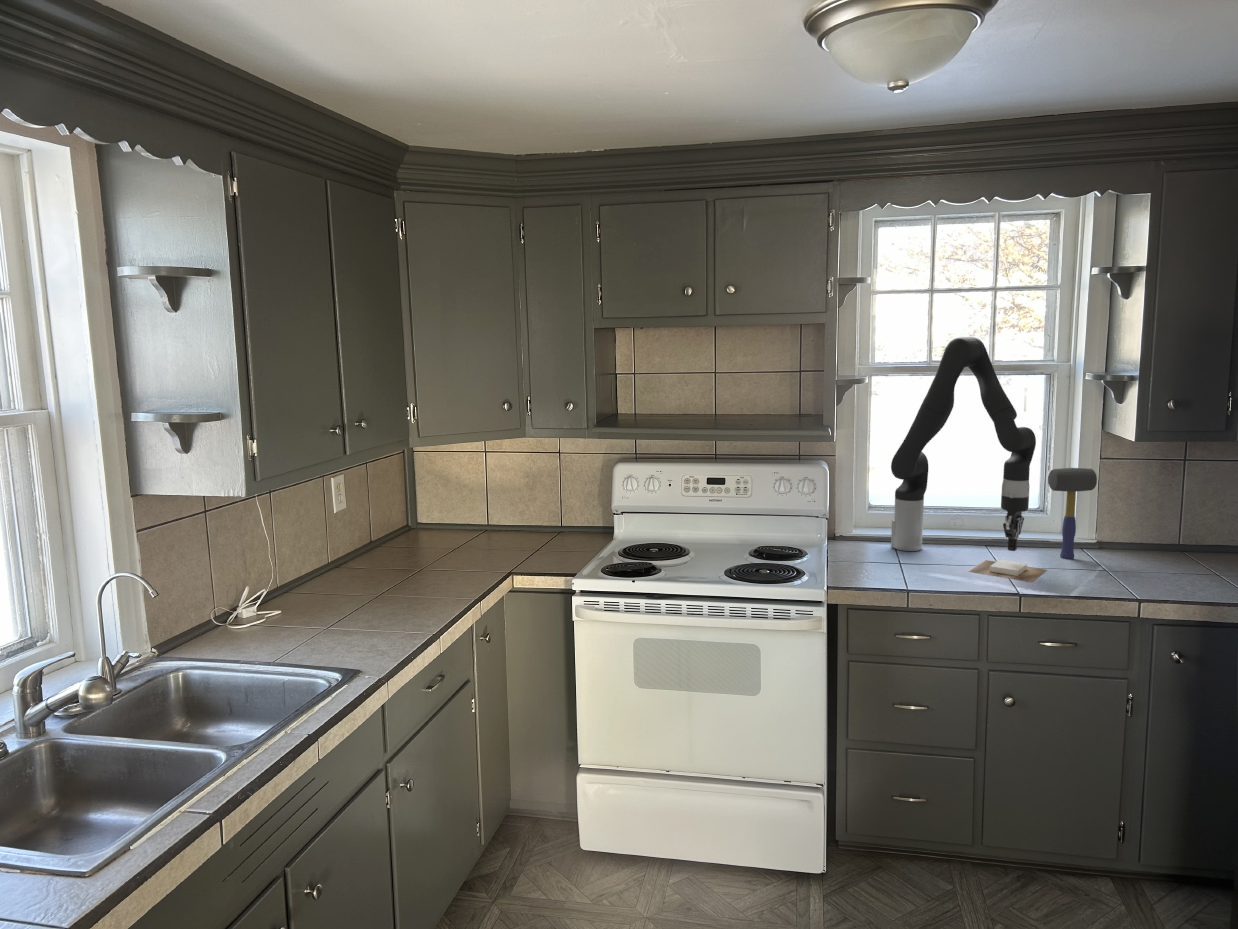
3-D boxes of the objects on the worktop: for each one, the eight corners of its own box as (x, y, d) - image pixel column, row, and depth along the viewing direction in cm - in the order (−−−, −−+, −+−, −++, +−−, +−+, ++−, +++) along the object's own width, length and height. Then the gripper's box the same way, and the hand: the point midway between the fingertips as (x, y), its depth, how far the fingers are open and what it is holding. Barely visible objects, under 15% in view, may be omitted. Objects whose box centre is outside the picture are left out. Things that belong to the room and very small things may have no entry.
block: (999, 565, 263) (989, 571, 256) (999, 559, 263) (989, 566, 256) (1026, 569, 258) (1017, 576, 251) (1027, 564, 258) (1018, 570, 251)
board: (968, 575, 257) (968, 571, 257) (985, 563, 269) (986, 560, 269) (1032, 586, 245) (1032, 582, 245) (1047, 573, 257) (1047, 569, 257)
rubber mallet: (1052, 564, 267) (1058, 470, 262) (1041, 558, 274) (1047, 466, 269) (1092, 564, 266) (1099, 469, 261) (1081, 557, 274) (1087, 465, 269)
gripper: (1008, 489, 263) (1005, 544, 265) (995, 496, 253) (992, 553, 255) (1034, 491, 258) (1031, 547, 261) (1022, 499, 248) (1018, 556, 251)
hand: (1012, 550), depth 258 cm, fingers closed
